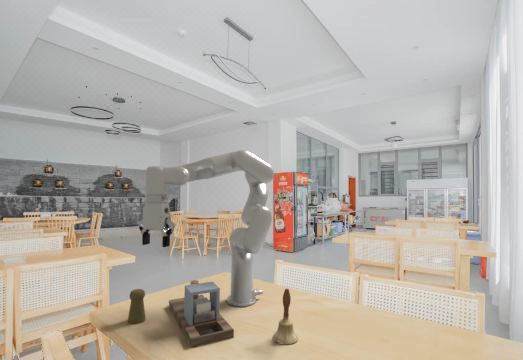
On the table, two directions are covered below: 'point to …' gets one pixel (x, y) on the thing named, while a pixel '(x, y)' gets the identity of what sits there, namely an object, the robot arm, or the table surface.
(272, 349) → the table surface
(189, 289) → the tunnel
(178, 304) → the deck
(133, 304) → the cork
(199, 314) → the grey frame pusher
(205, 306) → the cream block
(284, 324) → the hand bell
